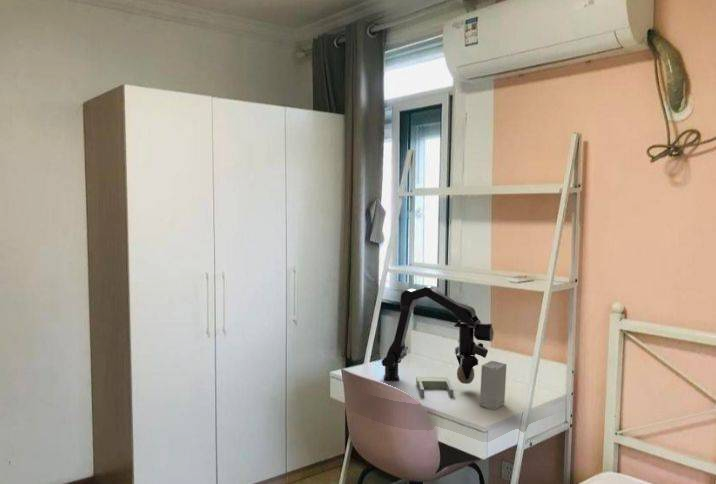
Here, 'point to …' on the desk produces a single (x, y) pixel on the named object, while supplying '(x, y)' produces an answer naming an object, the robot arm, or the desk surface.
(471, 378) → the brown oval solid
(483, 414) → the desk surface
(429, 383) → the green u-shaped bracket
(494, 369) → the skincare box
